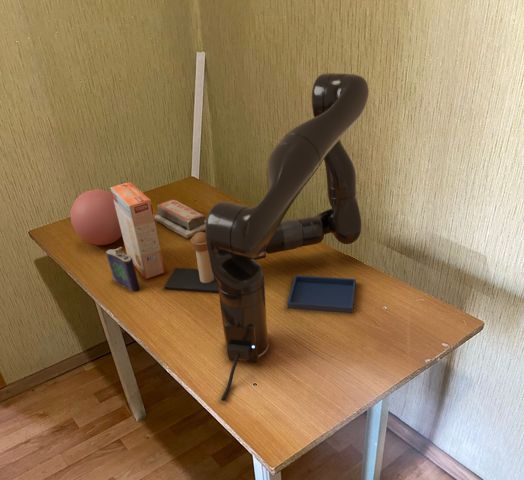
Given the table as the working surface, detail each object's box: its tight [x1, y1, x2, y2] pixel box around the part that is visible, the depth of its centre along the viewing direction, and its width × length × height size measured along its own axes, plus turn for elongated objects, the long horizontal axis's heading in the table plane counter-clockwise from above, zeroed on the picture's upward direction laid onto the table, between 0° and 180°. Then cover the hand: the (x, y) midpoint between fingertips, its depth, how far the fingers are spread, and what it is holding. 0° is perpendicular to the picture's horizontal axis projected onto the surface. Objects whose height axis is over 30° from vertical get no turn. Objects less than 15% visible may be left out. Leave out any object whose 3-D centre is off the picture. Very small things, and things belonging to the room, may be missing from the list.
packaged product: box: [153, 199, 207, 240], centre depth 160 cm, size 18×5×10 cm
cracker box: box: [110, 181, 166, 280], centre depth 137 cm, size 14×6×21 cm, turn 31°
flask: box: [105, 246, 141, 292], centre depth 134 cm, size 9×3×11 cm, turn 50°
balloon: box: [70, 188, 123, 246], centre depth 152 cm, size 15×20×15 cm
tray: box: [286, 274, 357, 314], centre depth 128 cm, size 12×15×2 cm
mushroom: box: [189, 231, 214, 283], centre depth 132 cm, size 5×5×13 cm
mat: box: [164, 267, 219, 294], centre depth 136 cm, size 9×20×1 cm, turn 78°
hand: (218, 247), depth 131 cm, fingers open, 8 cm apart
